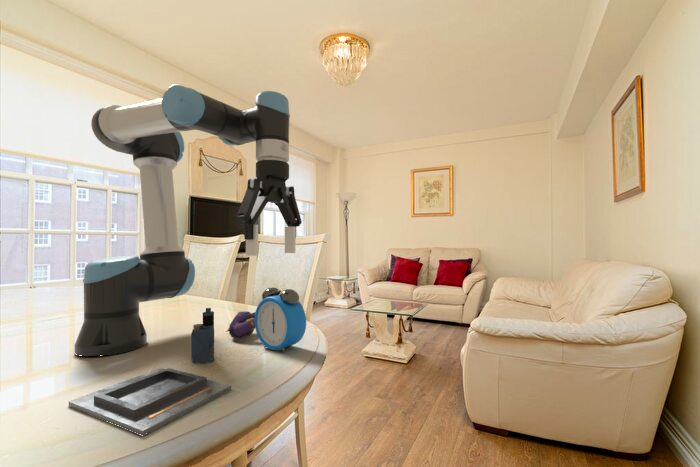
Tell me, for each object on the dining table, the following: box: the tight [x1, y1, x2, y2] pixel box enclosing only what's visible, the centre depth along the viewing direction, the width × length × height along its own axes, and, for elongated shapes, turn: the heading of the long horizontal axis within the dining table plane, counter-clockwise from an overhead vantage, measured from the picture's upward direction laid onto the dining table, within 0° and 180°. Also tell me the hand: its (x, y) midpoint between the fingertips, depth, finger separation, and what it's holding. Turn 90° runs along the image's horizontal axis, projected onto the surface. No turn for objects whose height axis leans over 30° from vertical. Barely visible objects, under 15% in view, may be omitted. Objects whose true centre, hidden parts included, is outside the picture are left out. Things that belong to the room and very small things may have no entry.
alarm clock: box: [255, 286, 307, 353], centre depth 84 cm, size 13×6×15 cm, turn 55°
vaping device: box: [190, 307, 215, 364], centre depth 75 cm, size 3×5×12 cm, turn 78°
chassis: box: [68, 367, 232, 436], centre depth 58 cm, size 20×16×2 cm
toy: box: [225, 311, 256, 339], centre depth 95 cm, size 11×12×7 cm
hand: (272, 254), depth 76 cm, fingers open, 13 cm apart
